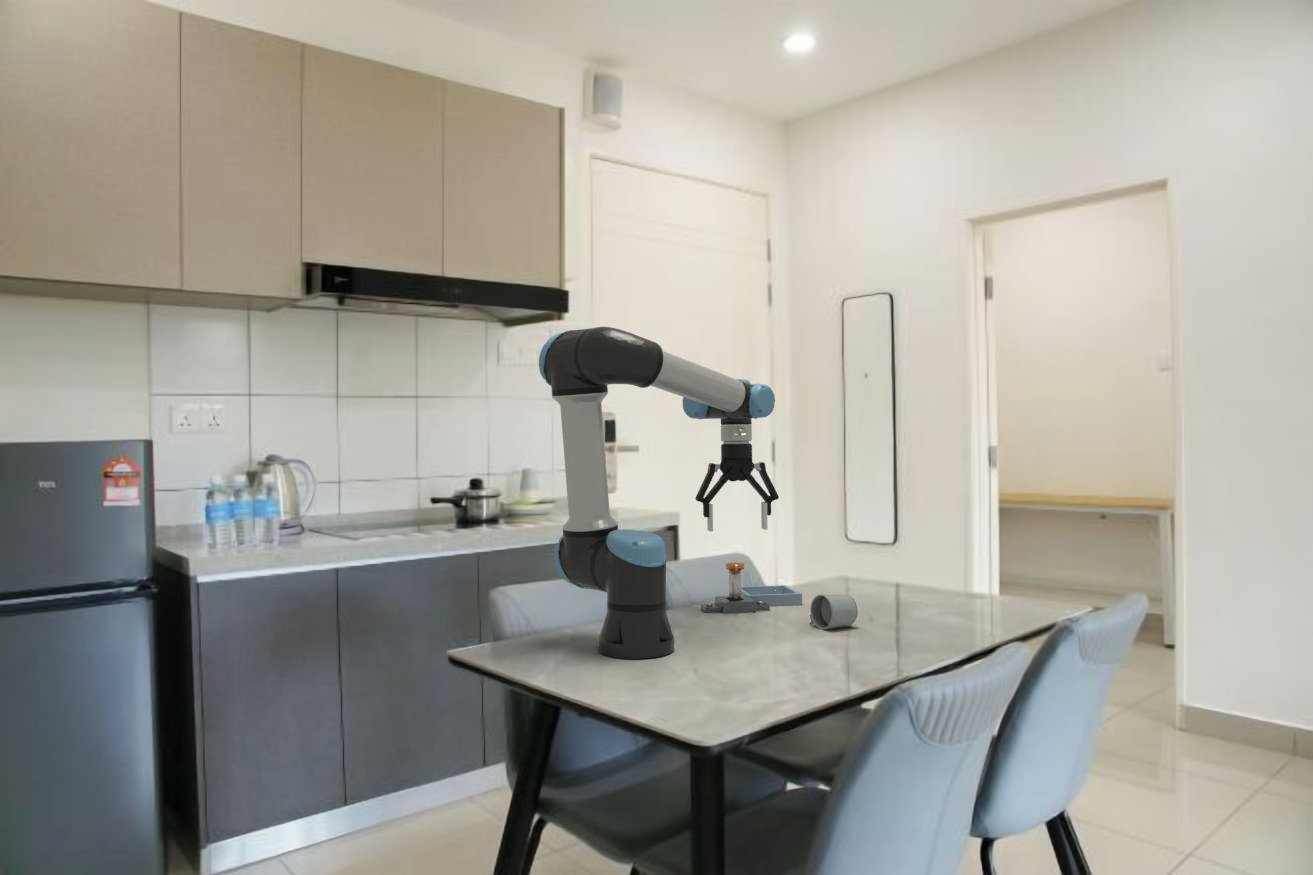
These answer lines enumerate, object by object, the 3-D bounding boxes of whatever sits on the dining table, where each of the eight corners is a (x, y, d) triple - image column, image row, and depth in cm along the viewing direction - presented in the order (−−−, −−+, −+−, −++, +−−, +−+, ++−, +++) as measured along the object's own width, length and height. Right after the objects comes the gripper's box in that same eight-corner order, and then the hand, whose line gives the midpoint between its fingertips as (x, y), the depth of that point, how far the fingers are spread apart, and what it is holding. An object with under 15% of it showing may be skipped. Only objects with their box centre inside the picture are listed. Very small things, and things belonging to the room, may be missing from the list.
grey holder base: (706, 613, 216) (706, 603, 216) (699, 607, 224) (699, 597, 224) (771, 611, 219) (771, 600, 219) (761, 605, 227) (761, 594, 227)
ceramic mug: (860, 628, 200) (860, 593, 200) (832, 632, 196) (831, 596, 196) (828, 620, 209) (828, 587, 209) (800, 624, 205) (800, 590, 205)
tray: (748, 606, 224) (748, 595, 224) (734, 597, 237) (734, 586, 237) (802, 604, 227) (801, 593, 227) (785, 595, 240) (785, 585, 240)
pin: (728, 611, 219) (728, 565, 219) (724, 608, 223) (724, 562, 223) (746, 610, 219) (746, 564, 219) (741, 607, 224) (741, 562, 224)
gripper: (689, 444, 214) (690, 533, 215) (790, 442, 218) (791, 529, 219) (683, 443, 222) (684, 529, 222) (781, 441, 226) (782, 526, 226)
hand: (737, 530), depth 221 cm, fingers open, 13 cm apart
